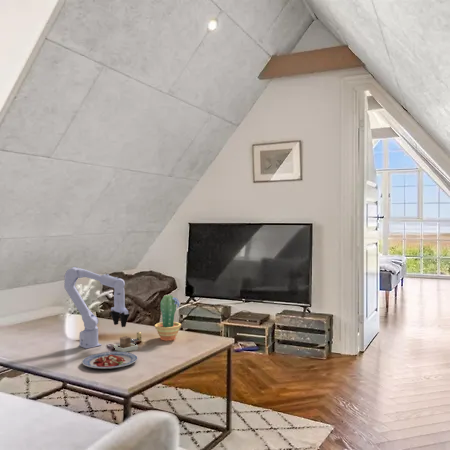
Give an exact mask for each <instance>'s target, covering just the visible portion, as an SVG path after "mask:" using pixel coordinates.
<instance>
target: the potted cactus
mask: <svg viewBox="0 0 450 450" xmlns="http://www.w3.org/2000/svg"><path fill="white" fill-rule="evenodd" d="M180 304H181V303H180V301H179V299H178V298H177V297H174V296H173V295H172V294H169V295H168V294H166V295H164V296H163V297H162V299H161V301H160V311H161V313H162V314H161V315H162V316H161V317H162V319H161V320H162V322H157V323H156V324H154V328H155V330H156V331H157V334H158V336H159V337H160V338H159V339H160V340H162V341H166V342H167V341H174V340H176V339H177V338H176V336H177V335H178V334H179V331H180V328H181V327H182V324H181V323H180V322H178V321H175V313H176V311H177V309H178V308H179V307H180Z"/></svg>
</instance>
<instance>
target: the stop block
mask: <svg viewBox="0 0 450 450" xmlns="http://www.w3.org/2000/svg"><path fill="white" fill-rule="evenodd" d="M131 339H132V338H131V336H126V335H125V336H122V337H121V336H120V337H119V344H120V347H121V348H127V347H131Z"/></svg>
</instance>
